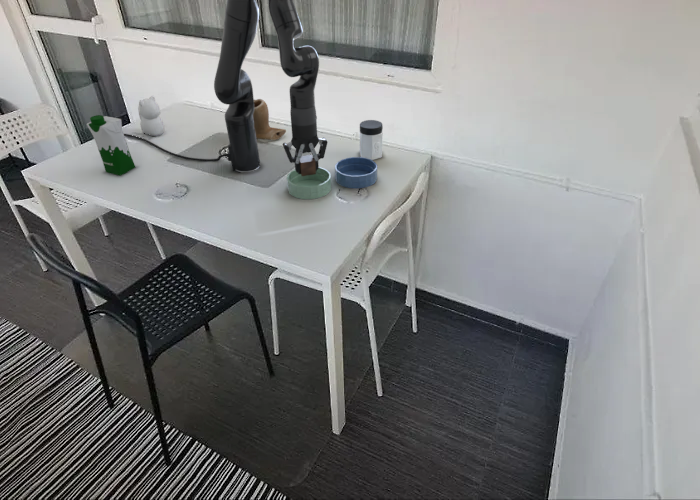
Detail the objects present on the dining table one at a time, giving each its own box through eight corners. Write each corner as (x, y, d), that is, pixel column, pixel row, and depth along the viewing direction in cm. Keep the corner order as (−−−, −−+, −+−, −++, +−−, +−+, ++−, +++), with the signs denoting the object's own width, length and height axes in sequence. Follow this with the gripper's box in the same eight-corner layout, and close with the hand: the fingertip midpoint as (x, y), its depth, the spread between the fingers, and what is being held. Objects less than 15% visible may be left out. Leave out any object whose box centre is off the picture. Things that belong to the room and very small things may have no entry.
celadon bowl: (285, 200, 143) (283, 186, 140) (291, 179, 154) (290, 166, 151) (329, 201, 142) (329, 187, 139) (332, 179, 153) (332, 166, 150)
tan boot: (239, 140, 180) (232, 103, 171) (255, 129, 189) (250, 93, 180) (272, 146, 175) (267, 108, 166) (287, 135, 184) (283, 98, 175)
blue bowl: (334, 190, 148) (333, 176, 145) (336, 170, 159) (336, 157, 156) (377, 190, 147) (377, 176, 144) (376, 170, 158) (376, 157, 155)
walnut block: (301, 176, 142) (300, 163, 139) (298, 169, 145) (297, 156, 142) (315, 174, 143) (315, 160, 140) (312, 167, 146) (311, 154, 143)
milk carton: (102, 173, 160) (80, 117, 147) (122, 162, 166) (103, 108, 154) (120, 177, 157) (100, 121, 144) (140, 166, 163) (122, 112, 151)
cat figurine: (154, 140, 182) (143, 103, 173) (134, 133, 187) (123, 97, 178) (172, 132, 188) (162, 96, 179) (152, 126, 193) (142, 91, 184)
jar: (367, 162, 163) (367, 130, 156) (354, 154, 169) (354, 123, 161) (386, 156, 167) (388, 124, 160) (374, 148, 173) (374, 117, 165)
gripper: (323, 112, 138) (325, 163, 148) (277, 118, 135) (282, 169, 145) (330, 121, 132) (331, 174, 143) (282, 127, 129) (287, 180, 139)
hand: (307, 171), depth 144 cm, fingers closed on walnut block, 4 cm apart
